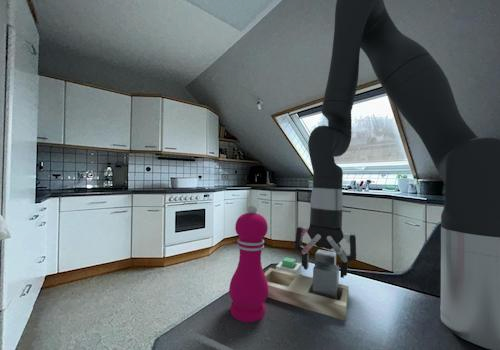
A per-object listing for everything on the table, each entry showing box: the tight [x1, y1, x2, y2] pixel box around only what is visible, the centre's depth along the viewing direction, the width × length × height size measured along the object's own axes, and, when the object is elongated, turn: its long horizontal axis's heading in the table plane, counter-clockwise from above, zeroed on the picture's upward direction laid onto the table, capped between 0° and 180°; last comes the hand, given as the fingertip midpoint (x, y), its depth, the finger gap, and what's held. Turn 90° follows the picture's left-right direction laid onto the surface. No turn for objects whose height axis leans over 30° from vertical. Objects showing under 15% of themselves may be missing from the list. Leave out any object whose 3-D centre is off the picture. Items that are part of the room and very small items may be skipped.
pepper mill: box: [228, 204, 269, 323], centre depth 40 cm, size 7×7×20 cm
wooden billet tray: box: [264, 267, 350, 322], centre depth 46 cm, size 18×9×3 cm, turn 63°
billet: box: [312, 262, 340, 300], centre depth 44 cm, size 4×4×7 cm
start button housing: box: [275, 261, 302, 275], centre depth 56 cm, size 5×5×3 cm
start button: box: [282, 257, 297, 269], centre depth 56 cm, size 3×3×2 cm
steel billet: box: [314, 249, 337, 266], centre depth 53 cm, size 4×4×7 cm
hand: (323, 272), depth 53 cm, fingers open, 8 cm apart
